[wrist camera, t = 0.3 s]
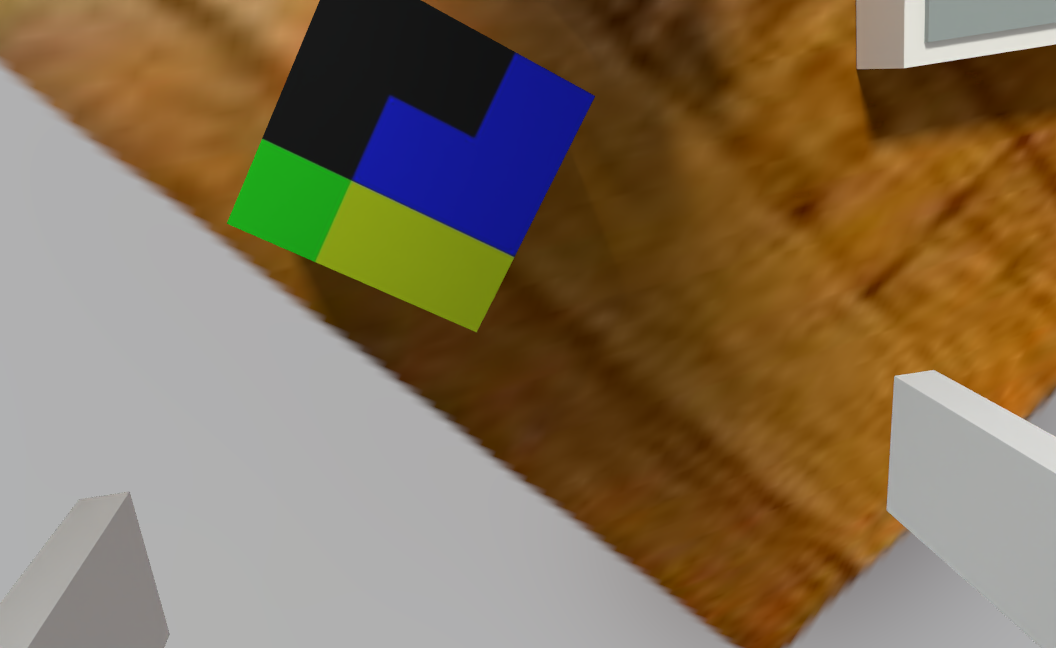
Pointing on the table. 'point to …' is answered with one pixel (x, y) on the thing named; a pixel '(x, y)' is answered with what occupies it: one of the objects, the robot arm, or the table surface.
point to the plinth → (948, 30)
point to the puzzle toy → (409, 154)
